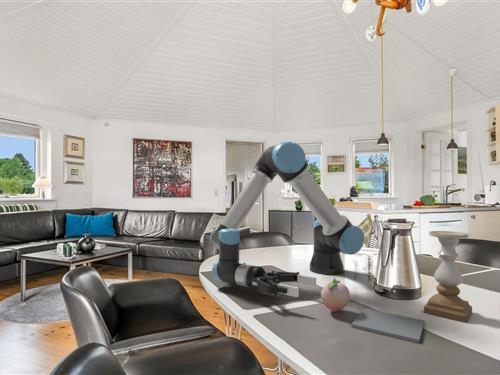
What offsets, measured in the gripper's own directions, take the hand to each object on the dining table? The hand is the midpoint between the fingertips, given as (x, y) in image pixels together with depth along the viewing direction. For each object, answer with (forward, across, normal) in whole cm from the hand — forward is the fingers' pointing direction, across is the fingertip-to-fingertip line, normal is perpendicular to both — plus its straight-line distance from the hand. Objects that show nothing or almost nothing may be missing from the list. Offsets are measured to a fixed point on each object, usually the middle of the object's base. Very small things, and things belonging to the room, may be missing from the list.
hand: (307, 286), depth 102 cm
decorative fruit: (+9, 0, +6) cm, 11 cm away
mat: (+24, -1, +6) cm, 25 cm away
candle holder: (+37, +19, +6) cm, 42 cm away
